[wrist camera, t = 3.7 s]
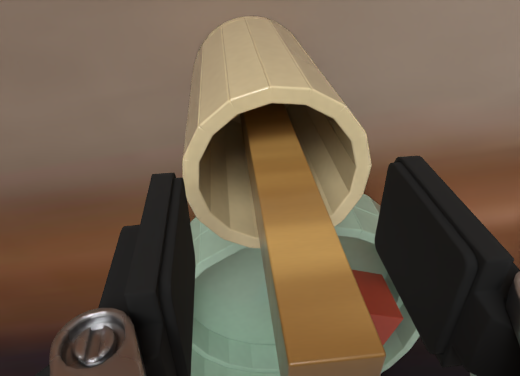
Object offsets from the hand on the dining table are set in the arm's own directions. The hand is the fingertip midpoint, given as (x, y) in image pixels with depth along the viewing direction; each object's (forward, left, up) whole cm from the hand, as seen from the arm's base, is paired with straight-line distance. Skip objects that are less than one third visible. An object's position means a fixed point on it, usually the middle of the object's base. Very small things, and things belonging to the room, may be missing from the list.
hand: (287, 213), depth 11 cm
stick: (0, 0, -11) cm, 11 cm away
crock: (0, 0, -12) cm, 12 cm away
